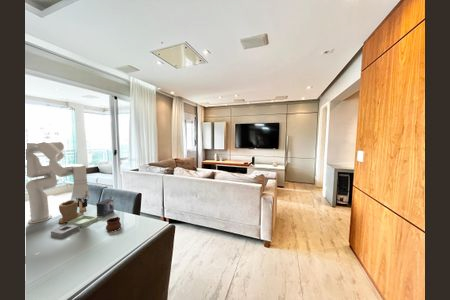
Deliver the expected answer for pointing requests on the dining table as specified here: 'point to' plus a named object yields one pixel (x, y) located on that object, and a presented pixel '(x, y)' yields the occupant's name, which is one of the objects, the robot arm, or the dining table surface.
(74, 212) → the stone cup
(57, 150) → the robot arm
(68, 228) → the holder block
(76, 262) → the dining table surface
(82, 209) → the fuse
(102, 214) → the small box
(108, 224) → the ceramic pot
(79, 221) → the parts tray
